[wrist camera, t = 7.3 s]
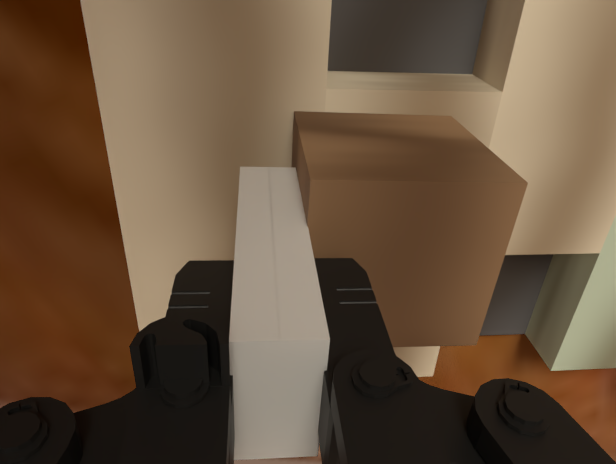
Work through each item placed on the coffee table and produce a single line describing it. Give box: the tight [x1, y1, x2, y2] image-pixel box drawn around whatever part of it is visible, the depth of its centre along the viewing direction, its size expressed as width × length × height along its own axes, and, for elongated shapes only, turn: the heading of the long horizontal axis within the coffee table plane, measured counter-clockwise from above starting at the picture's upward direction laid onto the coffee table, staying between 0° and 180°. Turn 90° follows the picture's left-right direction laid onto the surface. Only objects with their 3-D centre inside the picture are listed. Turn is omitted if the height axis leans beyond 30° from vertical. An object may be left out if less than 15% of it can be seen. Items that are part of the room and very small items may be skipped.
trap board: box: [80, 0, 616, 377], centre depth 15 cm, size 23×17×4 cm
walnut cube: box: [291, 111, 528, 347], centre depth 13 cm, size 4×4×4 cm
